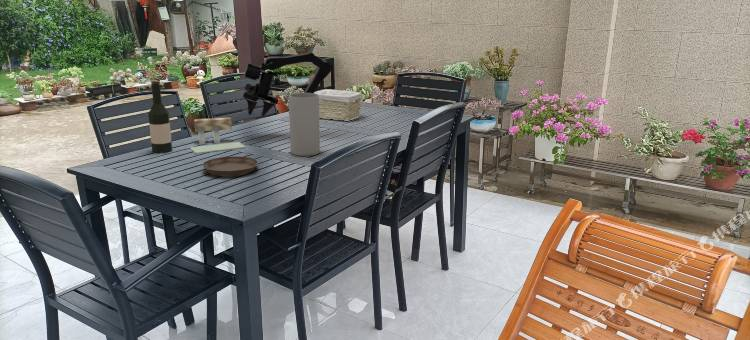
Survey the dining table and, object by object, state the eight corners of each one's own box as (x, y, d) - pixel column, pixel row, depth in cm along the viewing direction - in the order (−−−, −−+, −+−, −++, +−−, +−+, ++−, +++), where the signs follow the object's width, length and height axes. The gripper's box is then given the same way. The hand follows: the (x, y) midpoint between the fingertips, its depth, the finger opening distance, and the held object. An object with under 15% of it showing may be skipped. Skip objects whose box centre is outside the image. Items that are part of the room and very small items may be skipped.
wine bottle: (165, 154, 236) (158, 83, 227) (148, 152, 238) (140, 82, 229) (176, 149, 244) (169, 80, 235) (159, 148, 245) (152, 79, 237)
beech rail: (230, 127, 261) (230, 117, 259) (231, 129, 257) (231, 118, 256) (195, 130, 255) (194, 119, 254) (195, 131, 252) (194, 120, 251)
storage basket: (362, 117, 314) (363, 91, 310) (349, 123, 300) (349, 96, 296) (325, 113, 324) (325, 88, 319) (311, 119, 310) (310, 92, 305)
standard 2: (218, 139, 262) (217, 122, 260) (220, 143, 255) (218, 126, 253) (213, 139, 261) (211, 122, 259) (214, 143, 254) (213, 126, 252)
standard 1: (204, 140, 260) (202, 123, 258) (205, 144, 253) (204, 126, 251) (198, 140, 259) (197, 123, 257) (199, 144, 252) (198, 127, 250)
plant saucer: (236, 160, 229) (235, 152, 228) (269, 170, 217) (268, 162, 216) (192, 171, 214) (191, 163, 213) (225, 182, 201) (224, 174, 200)
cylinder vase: (314, 157, 234) (313, 98, 227) (286, 155, 236) (284, 96, 229) (323, 150, 246) (322, 93, 238) (296, 148, 248) (294, 92, 241)
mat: (239, 142, 256) (239, 141, 256) (245, 147, 248) (245, 146, 247) (190, 148, 245) (190, 147, 245) (195, 153, 237) (195, 152, 237)
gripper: (265, 80, 271) (257, 111, 274) (239, 75, 255) (230, 108, 258) (282, 87, 266) (273, 118, 269) (256, 83, 250) (247, 116, 253)
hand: (256, 115), depth 262 cm, fingers open, 9 cm apart
